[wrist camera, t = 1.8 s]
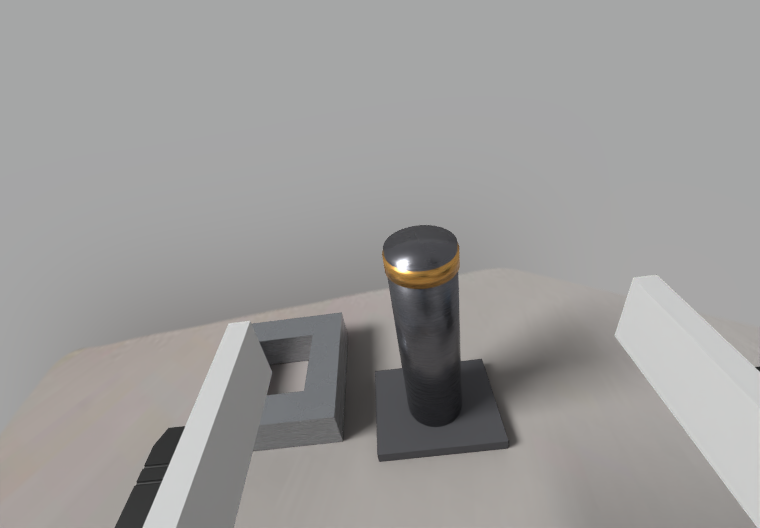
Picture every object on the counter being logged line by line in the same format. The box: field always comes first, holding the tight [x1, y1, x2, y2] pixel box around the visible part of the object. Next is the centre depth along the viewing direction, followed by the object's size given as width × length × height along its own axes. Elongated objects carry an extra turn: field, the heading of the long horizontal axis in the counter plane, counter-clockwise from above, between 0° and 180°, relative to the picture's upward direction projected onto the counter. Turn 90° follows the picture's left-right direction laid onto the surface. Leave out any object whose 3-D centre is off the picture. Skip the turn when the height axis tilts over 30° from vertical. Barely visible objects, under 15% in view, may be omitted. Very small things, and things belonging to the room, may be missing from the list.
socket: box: [252, 313, 348, 451], centre depth 36 cm, size 12×12×4 cm
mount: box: [375, 359, 509, 462], centre depth 33 cm, size 10×8×1 cm
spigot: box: [382, 225, 462, 427], centre depth 28 cm, size 5×5×16 cm
